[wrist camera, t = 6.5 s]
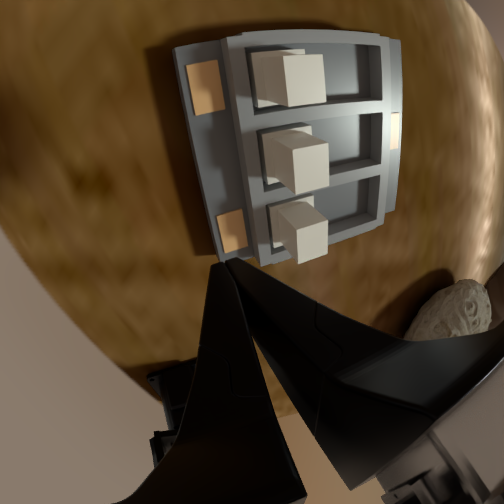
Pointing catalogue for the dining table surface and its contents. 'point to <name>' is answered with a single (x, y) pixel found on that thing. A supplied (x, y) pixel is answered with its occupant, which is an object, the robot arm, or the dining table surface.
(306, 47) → the switch bank
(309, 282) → the dining table surface
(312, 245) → the tab
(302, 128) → the tab
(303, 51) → the tab
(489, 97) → the dining table surface
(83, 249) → the dining table surface
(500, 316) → the decorative dome
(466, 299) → the grey rounded stone
